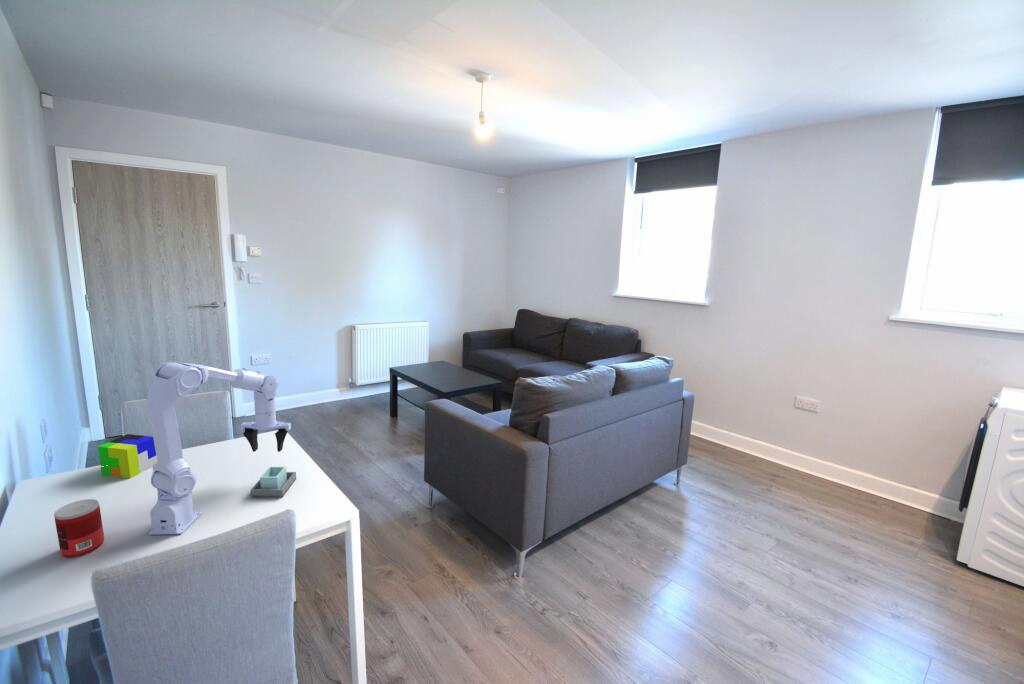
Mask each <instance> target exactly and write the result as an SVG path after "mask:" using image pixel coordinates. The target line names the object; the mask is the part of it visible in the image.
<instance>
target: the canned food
mask: <svg viewBox="0 0 1024 684" xmlns="http://www.w3.org/2000/svg"><path fill="white" fill-rule="evenodd" d="M99 502H100V501H99V500H98V499H94V498H88V499H87V498H86V499H81V500H76V501H73V502H70V503H67V504H65V505H63V506H61V507H59V508H58V509H57V510H56V511H55V512H54V522H55V528H56V529H55V530H56V534H57V539H58V545H59V551H60V553H61V556H63V557H65V558H77V557H76V556H78V557H81V556H80V555H82V556H85V555H87V554H86V553H88V554H89V552H90V553H92V552H94V551H96V550H97V549H98V548H100V547H101V546H102V545H103V543H104V541H105V535H104V527H103V519H102V514H101V513H102V512H101V506H100V503H99ZM95 549H96V550H95ZM93 550H94V551H93ZM91 551H92V552H91ZM84 554H85V555H84Z"/></svg>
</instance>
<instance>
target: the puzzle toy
mask: <svg viewBox="0 0 1024 684" xmlns="http://www.w3.org/2000/svg"><path fill="white" fill-rule="evenodd" d="M97 449H98V455H99V457H98V458H99V465H100V470H101V476H104V477H105V476H106V477H113V478H123V479H132V478H135V477H137V476H138V475H140V474H142V473H144V472H146V471H147V470H149V469H151V468H153V465H154V464H156V463H157V462H158V461H157V456H156V450H155V445H154V439H153V435H152V436H151V435H140V434H131V433H130V434H129V433H127V434H125V435H121V436H120V437H118V438H115V439H112V440H111V441H108V442H106V443H104V444H100V445H98V446H97ZM106 465H108V466H106ZM101 466H104V467H101Z"/></svg>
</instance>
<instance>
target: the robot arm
mask: <svg viewBox="0 0 1024 684" xmlns="http://www.w3.org/2000/svg"><path fill="white" fill-rule="evenodd" d="M152 379H153V381H152V383H151V386H150V388H149V392H148V394H147V397H146V404H147V411H148V416H149V422H150V426H151V432H152V437H153V439H154V445H155V450H156V456H157V461H158V462H157V463H156V464H154V465H153V467H152V474H151V477H150V484H151V486H152V487H153V488H155V489H156V490H157V501H156V503H155V504H154V506H153V507H152V509H151V510H150V523H151V530H150V532H148V535H153V536H154V535H156V536H157V535H181V534H183V533H184V532H185V531H186V530H187V529H188V528H189V527H190V526H191V525H192V524H193V523H194V522H195V521H196V520H197V519H198V518H199V517H200V516H201V515H202V512H201V511H194V505H193V494H192V492H193V490H194V488H195V486H196V483H197V478H196V475H194V474H193V473H192V471H191V467H190V465H189V463H187V462H186V460H185V459H184V455H183V448H182V442H181V436H180V430H179V423H178V418H177V412H176V406H175V404H176V403H177V401H178V400H180V399H182V398H183V397H184V396H186V395H187V394H189V393H191V392H192V391H194V390H195V389H197V387H199V386H200V384H205V383H206V382H207V380H210V381H211V380H212V381H218V382H224V383H229V385H230V386H231V387H232V388H233V389H241V390H246V391H251V392H253V402H254V416H255V418H254V419H255V421H248V422H247V421H246V422H245V421H244V422H242V423H241V424H240V430H241V431H243V432H242V435H243V436H244V438H245V439H246V440H247V441H248V443H249V445H250V447H251V450H252V452H254V453H255V452H256V451H257V450H258V449H259V443H258V432H259V431H260V430H261V431H264V430H265V431H267V430H268V431H269V430H271V431H276V432H275V433H274V435H275V438H276V450H277V453H279V452H281V451H282V450H283V447H284V443H285V439H286V437H287V434H288V432H289V431H290V430H291V429H292V423H291V422H286V421H285V422H284V421H278V420H277V417H276V416H277V414H276V411H277V410H276V399H275V398H276V394H277V393H276V392H277V390H278V388H279V382H278V380H277V379H276V377H275V376H273V375H269V374H267V373H266V374H265V373H263V372H262V371H258V370H257V371H256V372H255V371H251V370H250V369H249V368H247V367H241V368H236V369H234V370H233V371H229V370H225V369H222V368H221V369H220V368H217V367H212V366H208V365H203V364H198V363H187V362H180V363H178V362H175V361H168V362H167V361H166V362H164V363H162V364H161V365H159V367H158V368H156V369H155V370H154V371H153V372H152Z"/></svg>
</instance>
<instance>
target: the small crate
mask: <svg viewBox="0 0 1024 684" xmlns="http://www.w3.org/2000/svg"><path fill="white" fill-rule="evenodd" d="M286 472H287V466H269V467H268V468H267V469H266V470H265V471H264V472H263V473H262V475H261V476H260V477H259V480H260V484H261V489H281V488H282V487H283V485H284V484H285V483H286V481H287V474H286Z"/></svg>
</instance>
